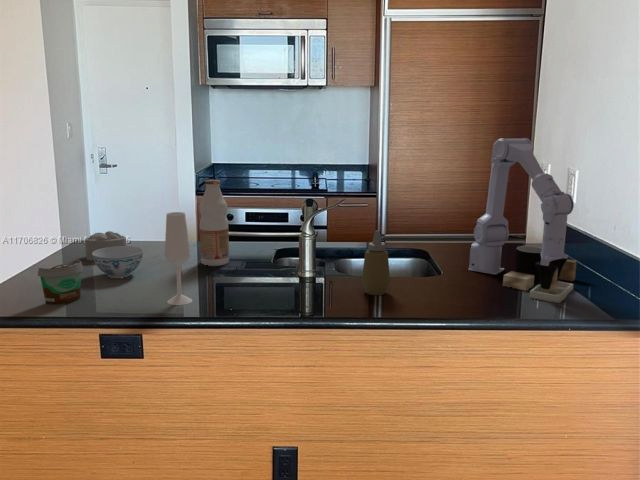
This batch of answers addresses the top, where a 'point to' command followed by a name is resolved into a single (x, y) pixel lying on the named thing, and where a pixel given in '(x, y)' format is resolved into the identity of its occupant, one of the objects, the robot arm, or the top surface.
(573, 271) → the bench stop
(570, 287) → the collar
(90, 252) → the lumpy-topped squat cylinder
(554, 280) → the dowel
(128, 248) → the chinaware
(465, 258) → the top surface
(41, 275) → the food container
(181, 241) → the champagne flute
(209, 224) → the fruit juice
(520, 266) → the mug
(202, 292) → the top surface
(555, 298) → the tray
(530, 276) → the push block
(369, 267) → the squeeze bottle
